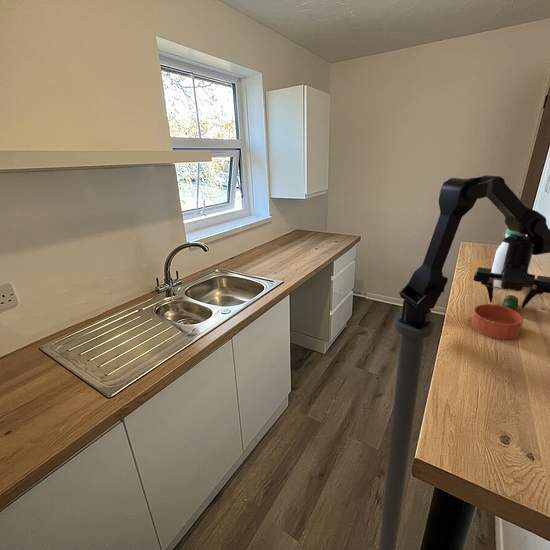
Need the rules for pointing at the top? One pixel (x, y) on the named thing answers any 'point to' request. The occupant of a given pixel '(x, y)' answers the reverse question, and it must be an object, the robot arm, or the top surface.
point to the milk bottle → (501, 258)
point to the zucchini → (511, 302)
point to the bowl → (497, 321)
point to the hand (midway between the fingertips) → (506, 304)
